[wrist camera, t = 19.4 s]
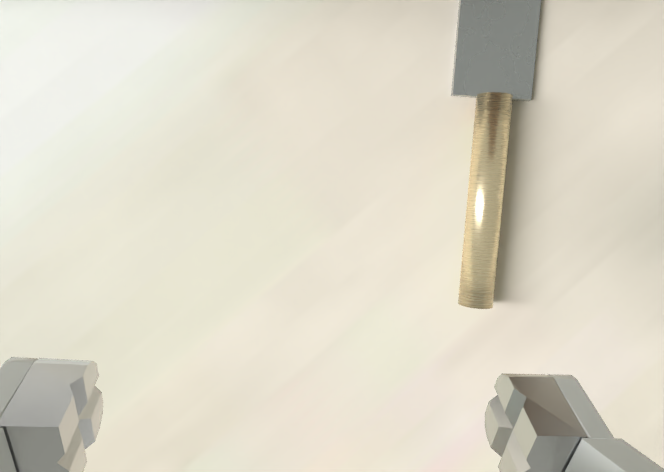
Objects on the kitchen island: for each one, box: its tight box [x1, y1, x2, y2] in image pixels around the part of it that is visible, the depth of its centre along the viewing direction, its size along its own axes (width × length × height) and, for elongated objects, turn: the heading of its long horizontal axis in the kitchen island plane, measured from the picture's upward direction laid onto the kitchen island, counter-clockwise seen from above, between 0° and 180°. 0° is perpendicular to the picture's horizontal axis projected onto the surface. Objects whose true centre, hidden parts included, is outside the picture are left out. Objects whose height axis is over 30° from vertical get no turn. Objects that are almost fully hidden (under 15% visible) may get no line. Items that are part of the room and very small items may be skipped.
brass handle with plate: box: [451, 0, 541, 309], centre depth 40 cm, size 24×6×3 cm, turn 176°
